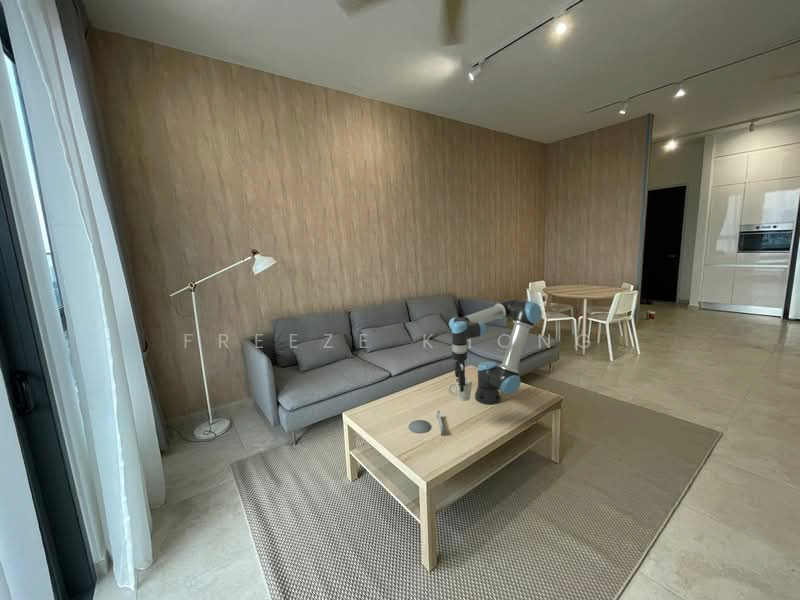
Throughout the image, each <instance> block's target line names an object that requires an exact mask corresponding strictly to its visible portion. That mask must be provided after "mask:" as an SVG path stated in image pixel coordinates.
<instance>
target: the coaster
mask: <svg viewBox="0 0 800 600" xmlns="http://www.w3.org/2000/svg"><path fill="white" fill-rule="evenodd" d="M431 428H432V424H431V423H430V422H428V421H426V420H424V419H415V420H413V421H411V422H410V423H409V424H408V429H409V431H411V432H412V433H414V434H426V433H427V432H429V431H430V430H431Z"/></svg>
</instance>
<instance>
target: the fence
mask: <svg viewBox="0 0 800 600" xmlns="http://www.w3.org/2000/svg"><path fill="white" fill-rule="evenodd" d="M436 418H437V423H438V425H439V430H440V431H439V432H440V436H442V437H443V436H444V435H445V431H444V428H445V427H444V426H443V423H442V418H441V412H440V410H437V411H436Z"/></svg>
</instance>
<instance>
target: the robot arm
mask: <svg viewBox="0 0 800 600" xmlns="http://www.w3.org/2000/svg"><path fill="white" fill-rule="evenodd" d="M542 314H543V313H542V309H541V306H540V305H539V304H538V303H536V302H533V301H529V300H522V299H514V298H513V299H508V300H505V301H501V302H498V303H495V304H494V306H492V307H489V308H486V309H483V310H480V311H477V312H474V313H471V314H469V315H468V314H467V315H465V316H462V317H452V318H451V319H450V320H449V322H448V327H449V329H450V330H451V343H452V345H451V346H450V347H451V349H452V352H451V356H452V357H451V358H452V359H453V361H454V375H455V380H456V379H458V378H459V384H458V386H459V397H464V386H465V378H466V372H465V371H466V370H465V368H466V366H465V362H464V361H466V360H467V359H468V340H469V339H475V338H480V337H483V336H485V335H486V333H487V327H486V324H487V323H489V322H491V321H495V320H497V319H501V320H502V319H503V320H504V319H506V318H507V319H512V323H513V327H512V331H511V333H510V337H509V341H508V344H507V347H506V350H505V353H504V357H503V360H502V363H500V364H499V365H498V363H497V362H495V361H484V362H480V363H479V364H477V365H478V367H477V388H476V389H475V390H476V391H475V393H474V398H475V400H476V401H477V402H478V403H480V404H483V405H484V404H485V405H496V404H498V403H499V402H501V395H500V392H501V393H504V394H507V395H513V394H515V393H516V392H517V391H518V390H519V388H520V387H521V384H522V381H521V378H520V376H519V375H520V372H519V370H518V367H519V364H520V361H521V358H522V355H523V352H524V348H525V345H526V341H527V339H528V336H529V332H530V330H531V329H532V328H534V326H535V324H538V323H539V322H540V321H541V319H542ZM455 390H457V386H456V385H455Z"/></svg>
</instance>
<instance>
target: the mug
mask: <svg viewBox="0 0 800 600" xmlns="http://www.w3.org/2000/svg"><path fill="white" fill-rule="evenodd" d="M458 384H459V378H458V379H456V378H455V382H451V383H450V384H448V387H447V390H448V392H449V394H451V395H453V396H455V395H456V396H457V397H458V401H462V402H467V401H470V399H471V394H472V393H471V392H472V386H473V385H472V384H473V381H472V378H469V377H465V386H464V397H459V386H458ZM452 386H455V387H456V386H457V389H456V391H457V392H453V391H452V390H451V387H452Z"/></svg>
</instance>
